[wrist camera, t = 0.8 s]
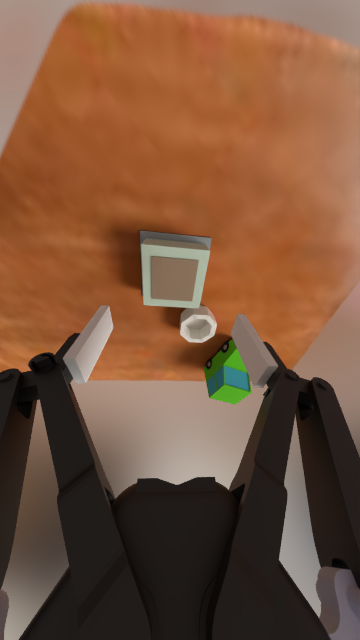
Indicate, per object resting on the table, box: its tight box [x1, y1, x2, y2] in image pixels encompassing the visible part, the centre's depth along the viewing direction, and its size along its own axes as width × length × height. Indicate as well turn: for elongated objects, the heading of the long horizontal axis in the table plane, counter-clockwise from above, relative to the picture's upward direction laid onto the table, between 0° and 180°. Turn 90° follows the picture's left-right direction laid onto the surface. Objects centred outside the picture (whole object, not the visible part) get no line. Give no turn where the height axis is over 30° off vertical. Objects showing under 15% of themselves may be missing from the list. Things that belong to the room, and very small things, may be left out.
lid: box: [141, 238, 210, 309], centre depth 28 cm, size 10×10×5 cm
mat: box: [140, 231, 212, 290], centre depth 30 cm, size 12×12×1 cm
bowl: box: [180, 305, 217, 343], centre depth 35 cm, size 8×8×4 cm
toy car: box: [204, 339, 251, 404], centre depth 41 cm, size 10×13×10 cm
